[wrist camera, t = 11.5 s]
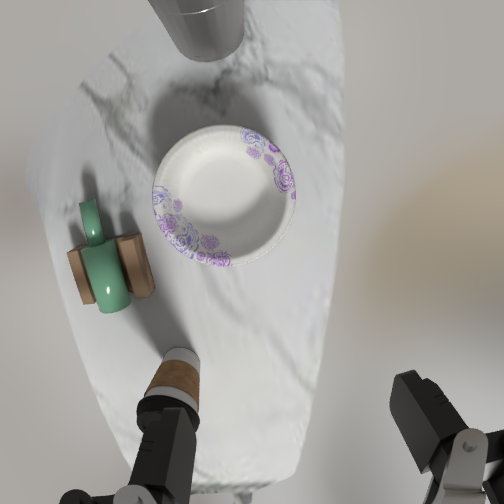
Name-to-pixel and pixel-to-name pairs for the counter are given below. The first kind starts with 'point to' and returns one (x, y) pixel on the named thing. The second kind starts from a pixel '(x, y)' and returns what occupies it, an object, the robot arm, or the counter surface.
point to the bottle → (102, 263)
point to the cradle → (131, 263)
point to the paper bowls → (224, 195)
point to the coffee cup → (172, 388)
